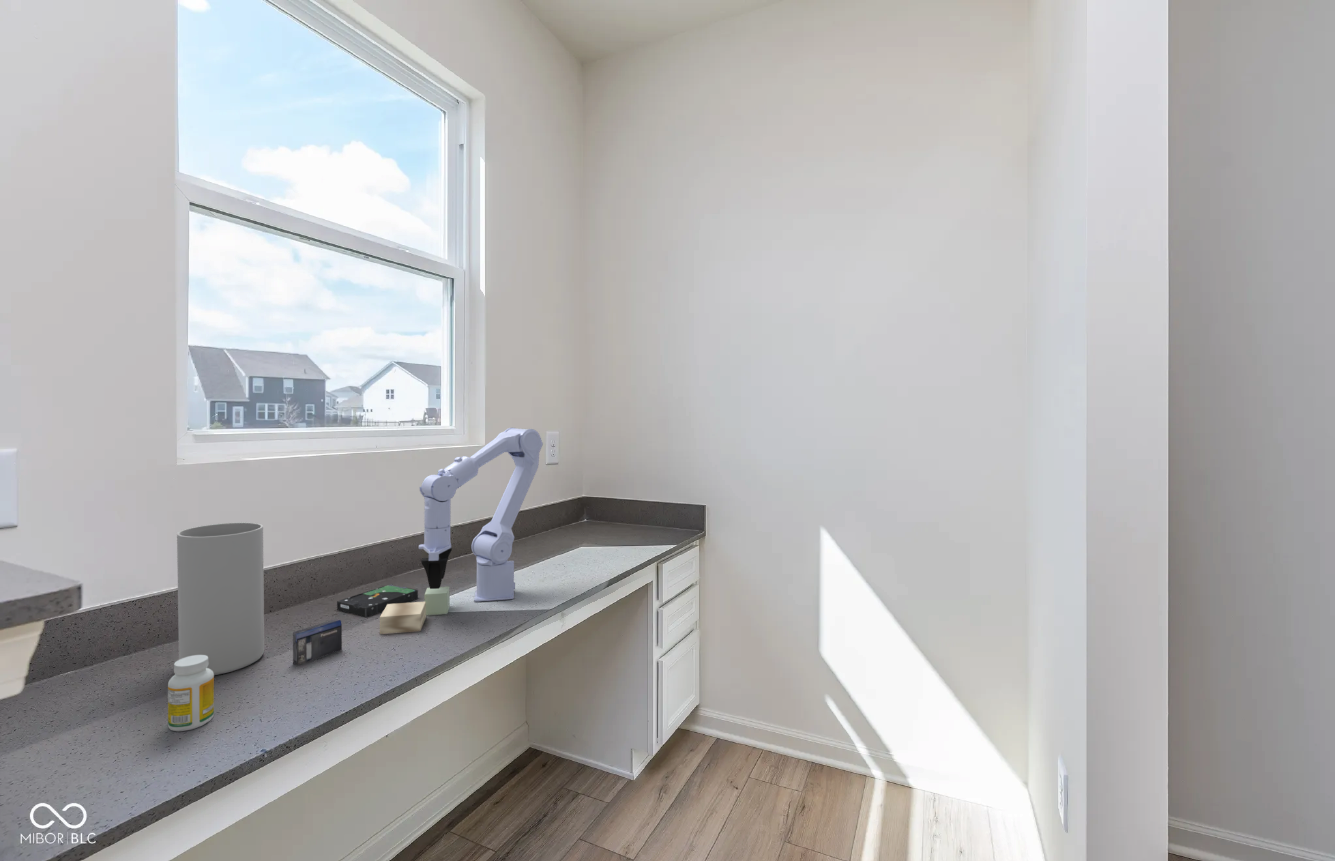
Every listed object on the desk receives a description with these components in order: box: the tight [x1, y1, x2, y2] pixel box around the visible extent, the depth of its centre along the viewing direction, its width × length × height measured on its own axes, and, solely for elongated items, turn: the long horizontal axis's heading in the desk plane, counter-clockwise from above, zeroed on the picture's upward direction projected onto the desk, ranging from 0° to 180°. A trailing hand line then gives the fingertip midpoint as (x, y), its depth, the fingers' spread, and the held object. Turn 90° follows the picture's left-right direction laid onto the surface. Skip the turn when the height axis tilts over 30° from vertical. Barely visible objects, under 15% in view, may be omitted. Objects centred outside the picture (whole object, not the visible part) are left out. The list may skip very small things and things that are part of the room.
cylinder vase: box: [176, 522, 265, 676], centre depth 106 cm, size 12×12×25 cm
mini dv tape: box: [292, 618, 343, 666], centre depth 110 cm, size 8×2×6 cm, turn 149°
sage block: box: [423, 586, 451, 616], centre depth 135 cm, size 5×5×5 cm
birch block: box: [379, 601, 427, 635], centre depth 126 cm, size 8×8×4 cm
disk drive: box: [336, 584, 419, 618], centre depth 139 cm, size 10×3×15 cm
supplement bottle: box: [167, 655, 215, 732], centre depth 86 cm, size 5×5×10 cm
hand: (437, 583), depth 135 cm, fingers open, 7 cm apart
